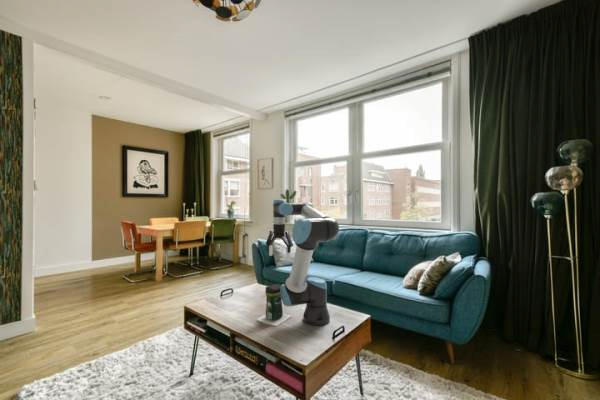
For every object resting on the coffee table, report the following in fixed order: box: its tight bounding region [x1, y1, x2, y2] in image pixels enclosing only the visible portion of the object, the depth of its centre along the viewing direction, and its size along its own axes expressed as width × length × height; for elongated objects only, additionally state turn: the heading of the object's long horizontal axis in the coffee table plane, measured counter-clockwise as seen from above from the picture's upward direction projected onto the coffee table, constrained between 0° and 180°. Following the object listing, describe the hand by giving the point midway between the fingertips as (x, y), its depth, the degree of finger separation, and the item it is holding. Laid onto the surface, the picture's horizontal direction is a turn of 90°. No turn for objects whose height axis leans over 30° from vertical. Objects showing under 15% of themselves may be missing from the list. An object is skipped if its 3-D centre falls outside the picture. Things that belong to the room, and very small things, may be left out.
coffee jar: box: [265, 283, 284, 320], centre depth 156 cm, size 10×8×19 cm
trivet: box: [256, 313, 292, 328], centre depth 156 cm, size 14×14×1 cm
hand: (279, 256), depth 175 cm, fingers open, 13 cm apart
